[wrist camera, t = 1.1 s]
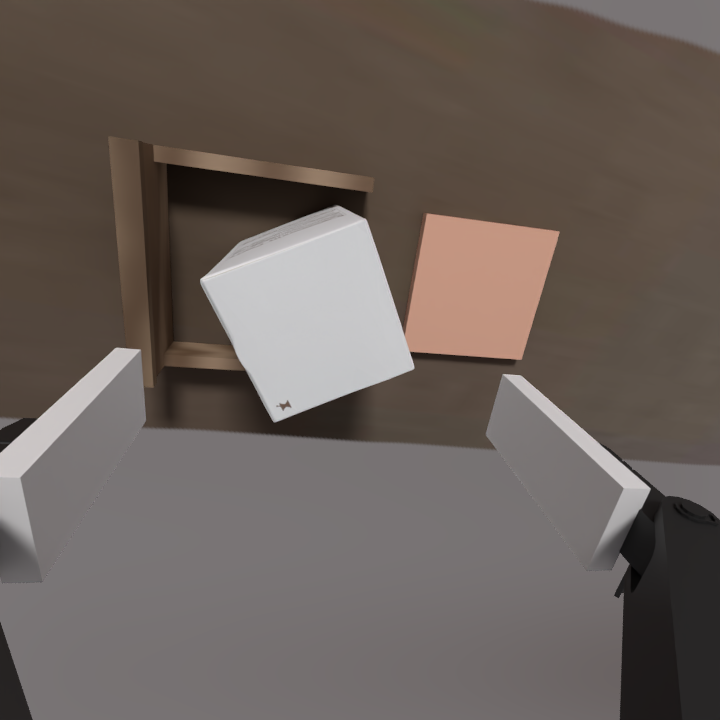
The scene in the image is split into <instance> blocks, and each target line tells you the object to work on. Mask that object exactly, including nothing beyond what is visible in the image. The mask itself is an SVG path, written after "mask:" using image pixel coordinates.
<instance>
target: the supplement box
mask: <svg viewBox="0 0 720 720" xmlns="http://www.w3.org/2000/svg"><path fill="white" fill-rule="evenodd" d="M200 283H201V285H202V287H203V289H204V291H205V293H206V295H207V297H208V299H209V301H210V303H211V305H212V306H213V308H214V310H215V312H216V314H217V316H218V318H219V320H220V322H221V324H222V326H223V327H224V329H225V331H226V333H227V335H228V337H229V339H230V341H231V343H232V345H233V347H234V349H235V352H236V355H237V357H238V359H239V361H240V362H241V364H242V365H243V367H244V368H245V369H246V371H247V373H248V375H249V377H250V379H251V381H252V383H253V385H254V387H255V388H256V390H257V392H258V394H259V396H260V398H261V400H262V402H263V404H264V406H265V408H266V410H267V412H268V413H269V415H270V417H271V419H272V421H273V422H278V421H280V420H283V419H285V418H288V417H291V416H293V415H296V414H298V413H301V412H303V411H306V410H308V409H311V408H313V407H316V406H319V405H321V404H324V403H326V402H329V401H331V400H334V399H337V398H339V397H342V396H344V395H347V394H349V393H352V392H355V391H358V390H360V389H363V388H366V387H369V386H371V385H374V384H377V383H380V382H382V381H385V380H388V379H390V378H393V377H395V376H398V375H401V374H403V373H406V372H408V371H411V370H413V369H414V364H413V361H412V358H411V354H410V351H409V348H408V345H407V342H406V339H405V335H404V332H403V329H402V326H401V323H400V320H399V317H398V314H397V311H396V308H395V304H394V301H393V298H392V295H391V292H390V289H389V286H388V283H387V280H386V277H385V274H384V271H383V267H382V264H381V261H380V258H379V255H378V252H377V249H376V246H375V243H374V240H373V237H372V234H371V231H370V228H369V226H368V223H367V220H366V219H364V218H362V217H360V216H358V215H356V214H354V213H352V212H350V211H348V210H346V209H344V208H342V207H341V206H338V205H333V206H330V207H328V208H325V209H322V210H320V211H317V212H315V213H312V214H310V215H307V216H304V217H302V218H299V219H297V220H294V221H292V222H289V223H287V224H284V225H281V226H279V227H276V228H274V229H271V230H269V231H266V232H263V233H261V234H258V235H256V236H253V237H251V238H248V239H246V240H243V241H241V242H239V243H238V244H237V245H236V246H235V247H234V248H233V249H232V250H231V251H230V252H229V253H228V254H227V255H226V256H225V257H224V258H223V259H222V260H221V261H220V262H219V263H218V264H217V265H216V266H215V267H214V268H213V269H212V270H211V271H210V272H209V273H208V274H207V275H205V276H204V277H203V278H201V279H200Z"/></svg>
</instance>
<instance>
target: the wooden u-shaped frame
mask: <svg viewBox="0 0 720 720" xmlns="http://www.w3.org/2000/svg"><path fill="white" fill-rule="evenodd" d="M108 140H109V152H110V164H111V175H112V187H113V199H114V210H115V222H116V234H117V246H118V257H119V269H120V281H121V293H122V304H123V316H124V328H125V339H126V349H140V350H141V358H142V372H143V387H154V386H155V384H156V383H157V378H156V377H157V375H158V374H159V372H160V371H161V370H162V368H163V367H164V366H173V367H189V368H206V369H223V370H240V371H246V369H245V368H244V367H243V365H242V364H241V362H240V361H239V359H238V357H237V355H236V352H235V349H234V347H233V345H219V344H205V343H191V342H176V341H173V316H172V290H171V265H170V240H169V214H168V189H167V163H168V164H175V165H182V166H189V167H196V168H203V169H210V170H217V171H224V172H231V173H238V174H245V175H252V176H259V177H266V178H273V179H281V180H288V181H295V182H302V183H309V184H316V185H323V186H330V187H337V188H344V189H351V190H358V191H365V192H372V193H373V185H374V178H372V177H366V176H359V175H352V174H345V173H339V172H332V171H325V170H318V169H312V168H305V167H298V166H291V165H285V164H278V163H271V162H265V161H258V160H251V159H244V158H238V157H231V156H224V155H217V154H211V153H204V152H197V151H190V150H184V149H177V148H170V147H164V146H157V145H151V144H147V143H143V142H142V141H137V140H131V139H124V138H117V137H111V136H108Z"/></svg>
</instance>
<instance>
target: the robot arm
mask: <svg viewBox="0 0 720 720" xmlns="http://www.w3.org/2000/svg"><path fill="white" fill-rule="evenodd" d="M145 421H146V415H145V401H144V387H143V372H142V358H141V350H140V349H125V348H115V349H114V350H113V351H112V352H111V353H110V354H109V355H108V356H107V357H105V358H104V359H103V360H102V361H101V362H100V363H99V364H98V365H97V366H96V367H94V368H93V369H92V370H91V371H90V372H89V373H88V374H87V375H86V376H85V377H83V378H82V379H81V380H80V381H79V382H78V383H77V384H76V385H75V386H74V387H72V388H71V389H70V390H69V391H68V392H67V393H66V394H65V395H64V396H63V397H61V398H60V399H59V400H58V401H57V402H56V403H55V404H54V405H53V406H51V407H50V408H49V409H48V410H47V411H46V412H45V413H44V414H43V415H42V416H40V417H39V418H38V419H36V418H23V419H21V420H19V421H17V422H15V423H13V424H11V425H9V426H7V427H4V428H2V429H1V430H0V577H1V581H2V583H34V582H43V581H44V579H45V577H46V576H47V574H48V573H49V571H50V570H51V568H52V567H53V565H54V564H55V562H56V560H57V558H58V557H59V556H60V554H61V552H62V551H63V549H64V548H65V546H66V545H67V543H68V542H69V540H70V538H71V537H72V535H73V534H74V532H75V530H76V529H77V528H78V526H79V524H80V523H81V521H82V520H83V518H84V517H85V515H86V514H87V512H88V510H89V509H90V507H91V506H92V504H93V503H94V501H95V499H96V498H97V496H98V495H99V493H100V492H101V490H102V488H103V487H104V485H105V484H106V482H107V481H108V479H109V478H110V476H111V475H112V473H113V471H114V469H115V468H116V467H117V465H118V464H119V462H120V460H121V459H122V457H123V456H124V454H125V453H126V451H127V450H128V448H129V446H130V445H131V443H132V442H133V440H134V439H135V437H136V435H137V434H138V432H139V431H140V429H141V428H142V426H143V425H144V423H145ZM486 436H487V437H488V438H489V440H490V441H491V442H492V444H493V445H494V447H495V448H496V449H497V451H498V452H499V453H500V455H501V456H502V457H503V459H504V460H505V461H506V462H507V464H508V465H509V467H510V468H511V469H512V471H513V472H514V474H515V475H516V476H517V477H518V479H519V480H520V482H521V483H522V484H523V486H524V487H525V488H526V490H527V491H528V492H529V494H530V495H531V497H532V498H533V499H534V501H535V502H536V503H537V505H538V506H539V507H540V509H541V510H542V511H543V513H544V514H545V515H546V517H547V518H548V519H549V521H550V522H551V523H552V525H553V526H554V528H555V529H556V530H557V532H558V533H559V534H560V536H561V537H562V538H563V540H564V541H565V543H566V544H567V545H568V547H569V548H570V549H571V550H572V552H573V553H574V554H575V556H576V557H577V559H578V560H579V561H580V563H581V564H582V565H583V567H584V568H585V570H586V571H599V570H612V568H613V566H614V564H615V562H616V560H617V558H618V556H619V553H621V554H622V555H623V557H624V558H625V559H626V560H627V561H628V562H629V563H630V565H629V566H628V568H627V571H626V573H625V574H624V576H623V578H622V580H621V582H620V584H619V586H618V588H617V590H616V592H615V595H614V596H616V597H618V598H619V597H620V595H621V593H624V606H623V608H624V609H623V637H622V639H623V640H622V669H621V670H622V671H621V701H620V702H621V703H620V704H621V705H620V720H720V520H719V519H718V518H717V517H716V516H715V515H714V514H713V513H711V512H710V511H708V510H707V509H705V508H704V507H702V506H700V505H698V504H696V503H694V502H692V501H690V500H687V499H683V498H680V497H673V496H667V497H665V496H664V495H663V494H662V493H661V492H660V491H658V490H657V489H656V488H655V487H653V485H651V484H650V483H649V482H648V481H647V480H645V479H644V478H643V477H642V476H641V475H640V474H639V473H637V472H636V471H635V470H632V468H631V467H630V466H629V465H628V464H627V463H626V462H625V461H622V459H621V458H620V457H619V456H618V455H616V454H615V453H614V452H613V451H612V450H611V449H609V448H607V447H606V446H604V445H602V444H601V443H599V442H597V441H595V440H594V439H593V438H592V437H591V436H590V435H589V434H587V433H586V432H585V431H584V430H583V429H582V428H581V427H579V426H578V425H577V424H576V423H575V422H574V421H573V420H571V419H570V418H569V417H568V416H567V415H566V414H564V413H563V412H562V411H561V410H560V409H559V408H558V407H556V406H555V405H554V404H553V403H552V402H551V401H550V400H548V399H547V398H546V397H545V396H544V395H543V394H542V393H540V392H539V391H538V390H537V389H536V388H535V387H534V386H532V385H531V384H530V383H529V382H528V381H527V380H525V379H524V378H523V377H522V376H521V375H507V374H503V375H502V379H501V382H500V386H499V389H498V393H497V396H496V400H495V403H494V407H493V411H492V414H491V418H490V421H489V425H488V428H487V432H486ZM0 720H32V717H31V714H30V710H29V707H28V705H27V701H26V699H25V695H24V693H23V689H22V686H21V683H20V680H19V677H18V674H17V671H16V668H15V665H14V662H13V659H12V656H11V653H10V650H9V647H8V644H7V641H6V638H5V635H4V632H3V629H2V626H1V623H0Z"/></svg>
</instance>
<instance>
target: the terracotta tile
mask: <svg viewBox="0 0 720 720" xmlns="http://www.w3.org/2000/svg"><path fill="white" fill-rule="evenodd" d="M559 233H560V232H559V231H553V230H546V229H539V228H531V227H524V226H517V225H509V224H502V223H495V222H487V221H480V220H473V219H465V218H458V217H451V216H443V215H436V214H428V213H423V218H422V224H421V230H420V235H419V241H418V246H417V252H416V258H415V263H414V269H413V274H412V280H411V286H410V291H409V297H408V302H407V308H406V314H405V319H404V325H403V332H404V335H405V339H406V342H407V345H408V348H409V351H410V352H421V353H435V354H449V355H463V356H477V357H490V358H504V359H518V360H521V359H522V356H523V353H524V349H525V346H526V343H527V339H528V336H529V333H530V329H531V326H532V323H533V319H534V316H535V313H536V309H537V306H538V303H539V299H540V296H541V293H542V289H543V286H544V283H545V279H546V276H547V273H548V269H549V266H550V263H551V259H552V256H553V253H554V249H555V246H556V243H557V239H558V236H559Z"/></svg>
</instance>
